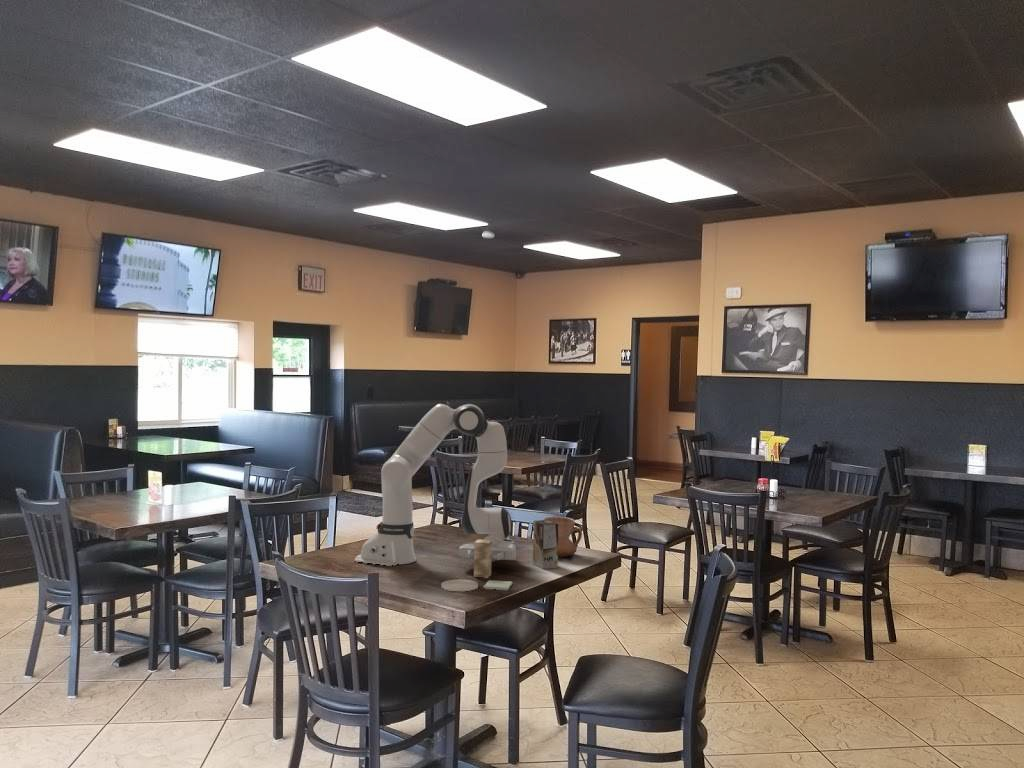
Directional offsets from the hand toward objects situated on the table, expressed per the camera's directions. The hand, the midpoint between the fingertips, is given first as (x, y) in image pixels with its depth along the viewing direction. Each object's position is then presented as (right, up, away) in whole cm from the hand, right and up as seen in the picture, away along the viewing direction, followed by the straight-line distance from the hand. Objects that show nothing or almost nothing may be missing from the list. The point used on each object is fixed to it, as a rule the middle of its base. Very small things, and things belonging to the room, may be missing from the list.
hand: (483, 556), depth 264 cm
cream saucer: (-7, -6, -16) cm, 18 cm away
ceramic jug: (+28, -7, +33) cm, 44 cm away
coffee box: (+22, -7, +16) cm, 28 cm away
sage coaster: (+5, -7, -14) cm, 16 cm away
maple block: (0, -7, -1) cm, 7 cm away
